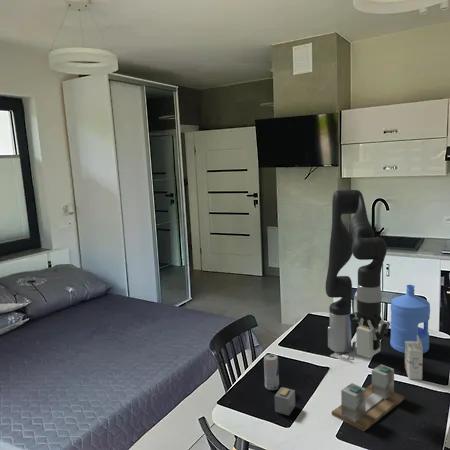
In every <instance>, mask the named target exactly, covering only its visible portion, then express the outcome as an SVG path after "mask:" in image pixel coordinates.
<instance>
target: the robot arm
mask: <svg viewBox="0 0 450 450" xmlns="http://www.w3.org/2000/svg"><path fill="white" fill-rule="evenodd" d="M364 199H365V198H364V195H363V193H362V192H361V191H360V190H358V189H342V190H338V189H337V190H336V191H334V192H333V195H332V202H331V203H332V204H331V205H332V206H331V213H332V214H331V231H330V240H329V252H328V253H329V254H328V268H327V274H326V279H325V293H326V296H327V297H329V298H333V299H334V298H336V299H337V298H338V299H339V300H337V301H334V302H332V303H331V304H330V305H329V307H328V309H329V326H328V327H327V347H328V348H329V349H330V350H331V351H333V352H334V353H335V352H338V353H346V352H351V351H352V332H354V333H355V332H356V333H357V327H359V326H361V327H362V326H363V325H365V326H368V327H370V329H371V330H372V333H373V338H374V340H373V350H375V351H376V350H377V349H378V348H379V347H380V340H381V341H382V340H384V339H386V338H387V335H388V332H389V329H390V327H391V322H389V321H387V322H386V321H384V320H383V319H382V315H381V312H382V289H381V287H382V286H381V274H382V268H383V264H384V262H385V258H386V255H387V251H388V246H387V243H386V241H385V240H384V239H383V238H382V237H379V236H377V237H375V232H374V229H373V227H372V225H371V223H370V221H369V217H368V214H367V213H368V212H367V208H366V203H365V200H364ZM353 214H354V215H353ZM342 215H352V217H351V219H350V221H349V223H348V226H349V227H348V228H349V229H347V227H346V226H345V224H344V222H343V220H342ZM349 231H350V232H349ZM352 256H353V257H354V258H355V259H357V260H360V261H369V260H372V261H371V262H370V263H368V264H364V265H361V266H360V267H358V269H357V288H356V291H357V311H358V312H357V313H355V312H354V311H353V312H352V295H353V283H352V279H351V277H350V276H348V275H338V274H339V273H340V272H341V270H342V268H344V266H346V264H347V263H348V262H349V261H350V259H351V258H352ZM358 319H359V321H360V323H358ZM379 325H381V331H380V328H379ZM376 327H377V329H375V330H374V328H376ZM346 354H347V353H346Z"/></svg>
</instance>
